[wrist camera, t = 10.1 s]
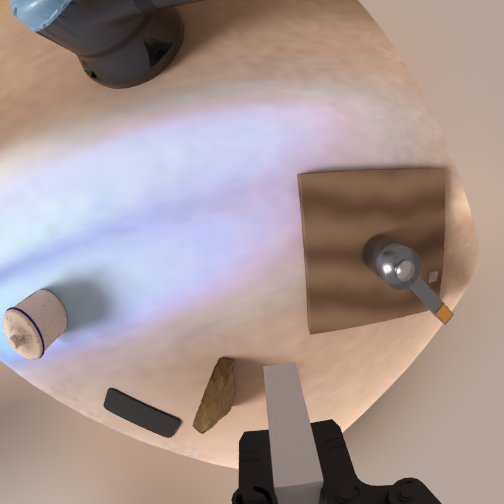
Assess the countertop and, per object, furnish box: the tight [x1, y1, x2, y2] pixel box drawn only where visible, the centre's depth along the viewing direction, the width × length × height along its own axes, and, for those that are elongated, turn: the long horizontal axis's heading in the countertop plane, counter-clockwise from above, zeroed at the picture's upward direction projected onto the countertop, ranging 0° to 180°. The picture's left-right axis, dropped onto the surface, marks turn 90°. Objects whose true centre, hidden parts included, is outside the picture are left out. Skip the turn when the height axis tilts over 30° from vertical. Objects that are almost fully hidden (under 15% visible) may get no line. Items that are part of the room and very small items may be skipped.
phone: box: [104, 388, 180, 438], centre depth 47 cm, size 7×1×15 cm
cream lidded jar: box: [3, 290, 67, 360], centre depth 35 cm, size 12×9×12 cm
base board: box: [297, 169, 445, 334], centre depth 38 cm, size 22×22×2 cm
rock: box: [193, 358, 236, 434], centre depth 41 cm, size 11×9×10 cm
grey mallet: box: [363, 235, 453, 325], centre depth 34 cm, size 17×5×8 cm, turn 53°
